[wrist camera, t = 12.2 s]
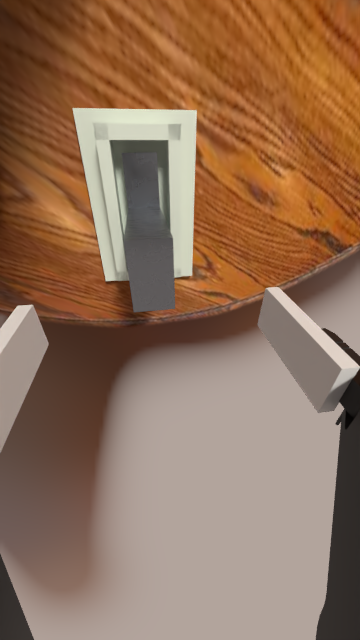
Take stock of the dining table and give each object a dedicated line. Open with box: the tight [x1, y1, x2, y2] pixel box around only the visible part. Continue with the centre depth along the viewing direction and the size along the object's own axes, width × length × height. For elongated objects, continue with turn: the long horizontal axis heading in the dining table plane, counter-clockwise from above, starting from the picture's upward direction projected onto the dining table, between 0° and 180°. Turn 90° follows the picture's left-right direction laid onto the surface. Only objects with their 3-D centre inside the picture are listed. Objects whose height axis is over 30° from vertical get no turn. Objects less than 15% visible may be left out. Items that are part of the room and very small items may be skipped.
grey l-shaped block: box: [121, 152, 175, 312], centre depth 23 cm, size 4×11×14 cm, turn 1°
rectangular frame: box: [73, 108, 197, 281], centre depth 28 cm, size 12×18×4 cm, turn 0°
